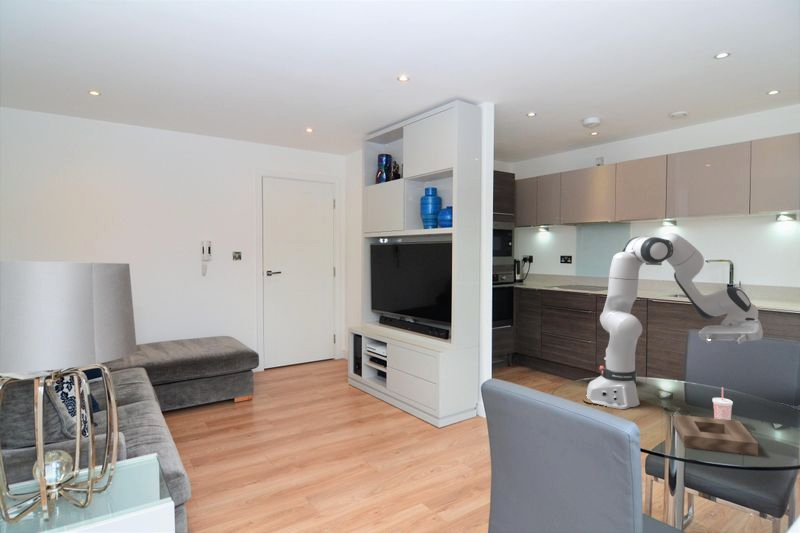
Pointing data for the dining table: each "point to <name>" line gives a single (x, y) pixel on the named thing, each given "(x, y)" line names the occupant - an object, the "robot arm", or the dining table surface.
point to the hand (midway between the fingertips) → (722, 342)
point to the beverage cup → (722, 408)
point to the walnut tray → (714, 434)
